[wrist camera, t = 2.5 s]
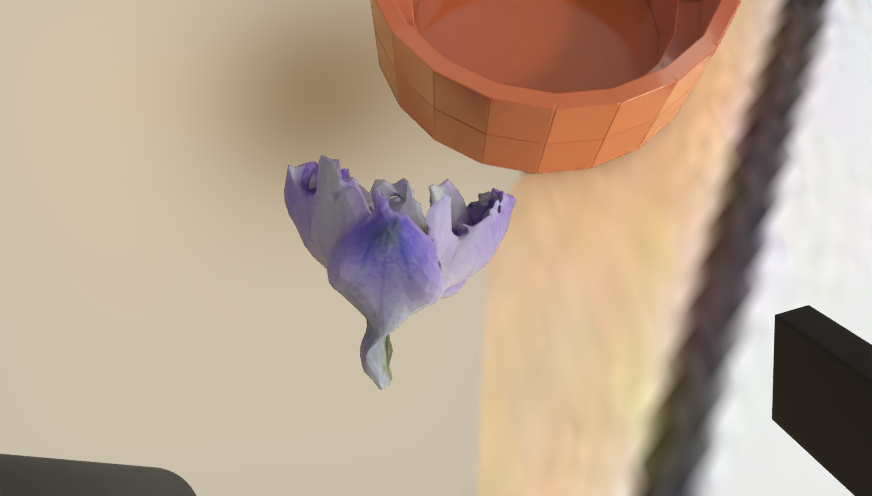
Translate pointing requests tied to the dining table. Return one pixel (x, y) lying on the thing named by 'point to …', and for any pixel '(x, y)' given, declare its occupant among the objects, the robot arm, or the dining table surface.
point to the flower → (391, 245)
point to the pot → (546, 73)
